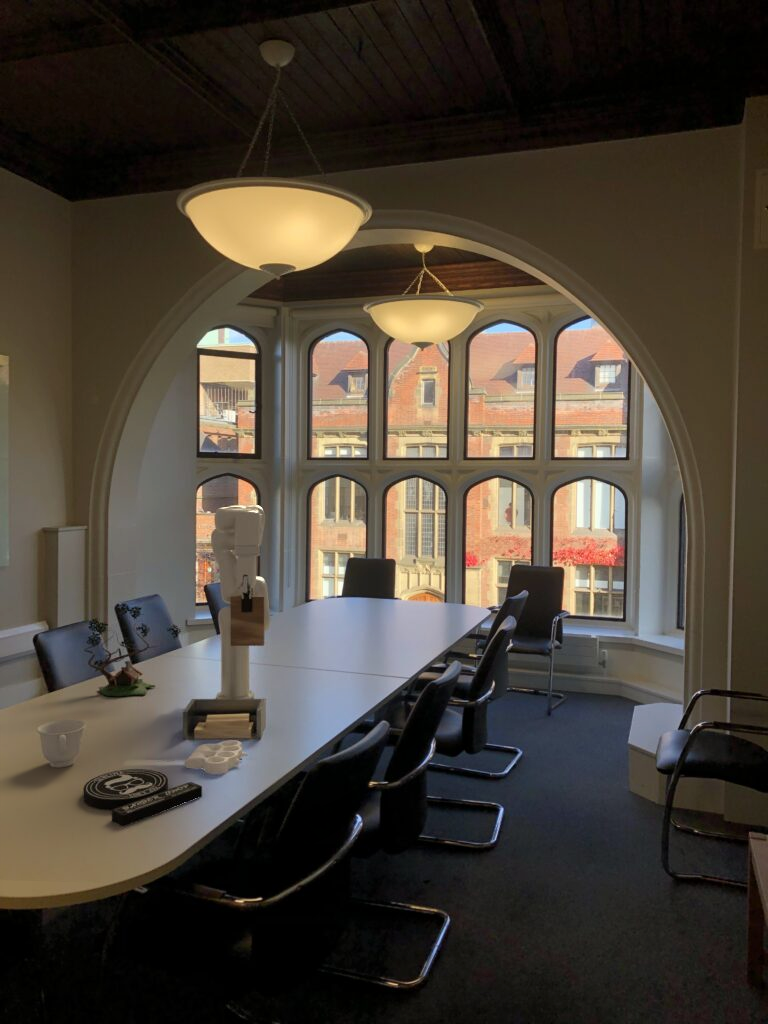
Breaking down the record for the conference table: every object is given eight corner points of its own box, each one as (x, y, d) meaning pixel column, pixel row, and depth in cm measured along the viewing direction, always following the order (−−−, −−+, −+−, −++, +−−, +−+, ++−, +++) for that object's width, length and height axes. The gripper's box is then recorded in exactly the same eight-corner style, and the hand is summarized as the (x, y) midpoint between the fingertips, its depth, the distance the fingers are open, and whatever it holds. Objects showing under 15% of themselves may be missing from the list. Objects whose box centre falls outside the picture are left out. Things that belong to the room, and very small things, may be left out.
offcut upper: (207, 723, 236) (207, 715, 236) (249, 721, 238) (249, 713, 238) (205, 730, 230) (205, 721, 230) (248, 728, 232) (248, 720, 232)
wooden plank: (231, 644, 247) (231, 595, 247) (264, 644, 248) (264, 595, 247) (230, 645, 245) (230, 596, 245) (263, 645, 246) (263, 596, 245)
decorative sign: (203, 798, 192) (141, 773, 208) (203, 786, 192) (141, 762, 208) (123, 828, 176) (63, 798, 191) (122, 815, 176) (62, 786, 191)
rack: (192, 729, 242) (191, 699, 242) (265, 728, 243) (265, 698, 243) (183, 743, 229) (182, 711, 229) (261, 743, 230) (261, 711, 230)
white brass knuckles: (201, 750, 225) (253, 752, 224) (179, 774, 207) (236, 777, 206) (201, 739, 225) (253, 740, 224) (179, 762, 207) (235, 764, 206)
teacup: (37, 778, 203) (36, 739, 202) (36, 759, 216) (36, 722, 216) (88, 772, 207) (88, 733, 207) (84, 753, 221) (84, 717, 221)
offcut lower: (198, 730, 238) (198, 722, 237) (253, 730, 238) (253, 721, 238) (194, 738, 231) (194, 729, 230) (250, 738, 231) (250, 729, 231)
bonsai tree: (68, 703, 268) (67, 608, 267) (94, 684, 293) (93, 597, 291) (174, 704, 269) (174, 609, 267) (191, 685, 293) (191, 598, 292)
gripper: (238, 548, 253) (238, 606, 254) (231, 553, 237) (231, 615, 238) (262, 548, 253) (262, 606, 254) (256, 553, 237) (256, 615, 238)
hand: (247, 610), depth 246 cm, fingers closed on wooden plank, 2 cm apart
